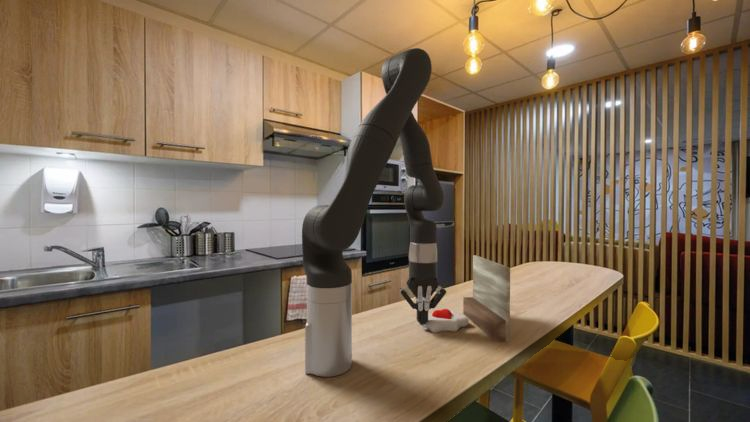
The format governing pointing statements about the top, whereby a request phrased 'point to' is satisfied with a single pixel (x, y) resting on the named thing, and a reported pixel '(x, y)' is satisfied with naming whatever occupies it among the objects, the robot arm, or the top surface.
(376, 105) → the robot arm
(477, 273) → the display ledge
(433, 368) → the top surface
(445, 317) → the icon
